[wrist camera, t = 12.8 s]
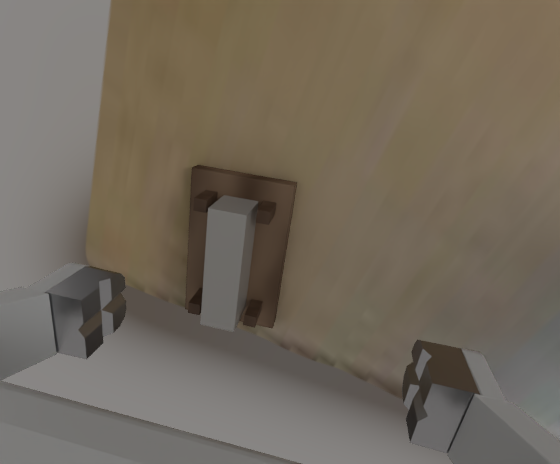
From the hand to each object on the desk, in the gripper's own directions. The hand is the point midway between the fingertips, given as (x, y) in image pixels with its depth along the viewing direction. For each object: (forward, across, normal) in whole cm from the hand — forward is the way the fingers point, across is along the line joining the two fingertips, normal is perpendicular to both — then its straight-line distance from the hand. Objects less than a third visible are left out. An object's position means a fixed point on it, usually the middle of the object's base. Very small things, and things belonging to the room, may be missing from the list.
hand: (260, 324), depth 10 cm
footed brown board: (+26, +8, +10) cm, 29 cm away
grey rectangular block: (+24, +7, +10) cm, 27 cm away
